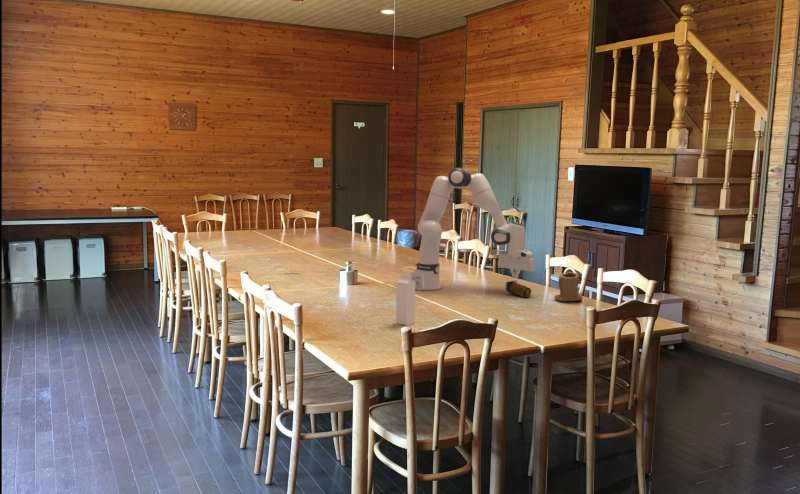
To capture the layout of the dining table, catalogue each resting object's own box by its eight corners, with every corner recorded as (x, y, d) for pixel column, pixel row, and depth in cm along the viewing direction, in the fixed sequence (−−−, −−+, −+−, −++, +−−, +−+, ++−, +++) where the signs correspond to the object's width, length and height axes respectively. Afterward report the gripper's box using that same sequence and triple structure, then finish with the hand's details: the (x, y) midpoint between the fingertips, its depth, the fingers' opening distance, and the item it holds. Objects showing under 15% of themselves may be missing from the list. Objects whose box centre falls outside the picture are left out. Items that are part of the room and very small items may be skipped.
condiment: (515, 293, 362) (532, 298, 352) (504, 294, 357) (520, 300, 347) (516, 280, 361) (533, 285, 351) (505, 281, 356) (522, 286, 346)
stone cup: (560, 304, 337) (562, 275, 335) (551, 298, 349) (552, 271, 347) (588, 303, 340) (590, 274, 338) (578, 298, 352) (579, 270, 350)
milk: (403, 320, 299) (404, 273, 296) (414, 323, 296) (415, 274, 293) (395, 323, 294) (396, 274, 292) (406, 325, 291) (407, 276, 288)
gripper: (496, 251, 360) (495, 275, 362) (530, 254, 348) (529, 280, 350) (501, 249, 365) (500, 274, 367) (535, 253, 353) (534, 278, 355)
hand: (515, 277), depth 358 cm, fingers closed
